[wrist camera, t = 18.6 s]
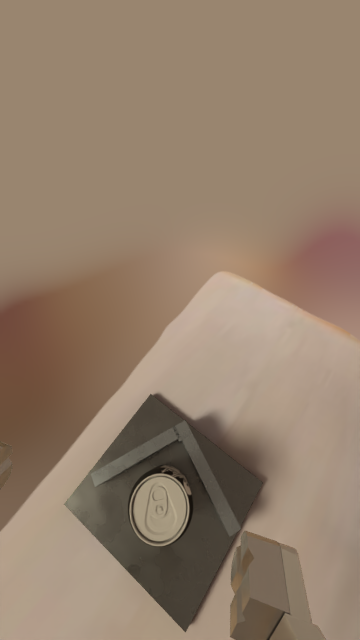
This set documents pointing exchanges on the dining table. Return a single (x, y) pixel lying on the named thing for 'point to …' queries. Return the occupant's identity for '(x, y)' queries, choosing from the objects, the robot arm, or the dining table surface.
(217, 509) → the v block
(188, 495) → the beverage can
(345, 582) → the dining table surface
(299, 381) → the dining table surface
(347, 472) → the dining table surface
